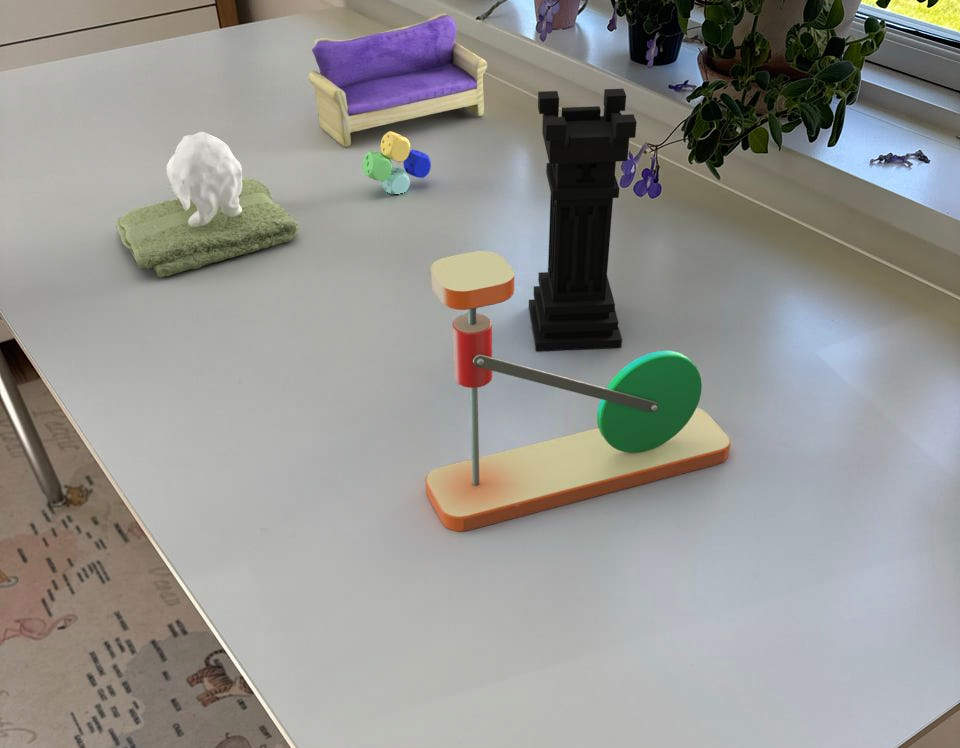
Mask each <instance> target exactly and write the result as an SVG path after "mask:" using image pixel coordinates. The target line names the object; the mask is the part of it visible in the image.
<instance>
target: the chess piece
mask: <svg viewBox="0 0 960 748" xmlns="http://www.w3.org/2000/svg"><path fill="white" fill-rule="evenodd" d="M603 92H604V93H603V115H601V111H602V110H601V107H600V106H597V105H596V106H595V105H594V106H571V107H569V106H568V107H567V106H566V107H561V116H559V111H560V96H559V93H558V90H549V91H548V90H547V91H546V90H544V91H537V108H538V114H539V115H542V127H541V128H542V131H541V133H542V139H543V142H544V146H545V151H546V155H547V159H548V162H546V169H545V172H546V173H545V174H546V177H547V182H548V187H549V191H550V195H549V196H550V201H549V229H548V230H549V231H548V259H547V260H548V261H547V271H545V272H544V271H543V272H542V271H541V272H538V279H537V281H538V285H534V286H533V293H532V294H533V299H532V298H531V299H528V311H529V317H530V323H531V324H530V325H531V329H532V337H533V344H534V349H535V352H547V351H549V352H550V351H571V350H572V351H573V350H596V349H614V348H615V349H619V348H621V349H622V345H623V344H622V343H623V338H622V335H621V331H620V327H619V322H620V321H619V319H618V314H617V311H616V303H615V299H614V296H613V292H612V288H611V285H610V281H609V278H608V277H609V276H608V267H609V256H610V255H609V254H610V253H609V252H610V244H611V243H610V241H611V230H612V216H613V206H614V205H613V204H614V199H619V197H620V185H619V183H618V180H617V177H616V165H617V162H628V159H629V146H630V139H635V138H636V134H637V133H636V132H637V123H638V122H637V119H636V117H635V114H633V113H632V114H631V113H630V114H622V112H625V111H626V103H627V94H626V92H625V88H604V90H603Z"/></svg>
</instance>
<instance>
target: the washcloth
mask: <svg viewBox="0 0 960 748" xmlns="http://www.w3.org/2000/svg"><path fill="white" fill-rule="evenodd" d="M238 198H239V205H240V206H241V208H242V212H241V213H240V214H239V215H237V216H234V217H229V216H227V215H225V214H224V213H223V212H222V211H221V207H219V208H218V209H217V213H216V215H215V216H214V217H213V218H212V219H211V221H210V222H209V223H208V224H206V225H203V226H198V227H192V226H190V225H189V223H188V221H189V218H190V217H191V216H192V215H193V214H194V213H195V212H197V211H198V210H197V207H196V205H195V204H194V203H193V202H192V201H191V199H190V207H189V209H188V210H187V211H185V210H184V208H183V205H182V203H181V202H180V199H179V198H178V199H177V197H176V198H174V199H170V200H165V201H161V202H157V203H151V204H147V205H143V206H139V207H136V208H133V209H130V210H129V211H127V212H126V213H124V214H123V215H121V216H120V217H119V218H118V219H117V220H116V221H115V222H114V224H115V227H116V228H117V230H118V233H119V237H120V240H121V243H122V244H123V245H124V246H125V247H126V248H127V249H128V250H129V251H130V252H131V254H132V256H133V258H134V260H135V262H136V265H137V266H138V269H145V268H146V269H147V270H149V269H152V268H153V269H154V271H155V273H156V275H157V277H158V278H162V277H170V276H173V275H175V274H179V273H182V272H186V271H188V270H197V269H200V268H201V267H204V266H206V265H210V264H212V263H217V262H219V263H220V262H221V261H225V260H229V259H233V258H234V257H236V258H237V257H238V256H244V255H246V254H248V253H254V252H256V251H257V252H258V251H259V250H262V249H268V248H270V247H275V246H278V245H280V244H282V243H287V242H290V241H291V240H292V238H294V237H296V235H298V231H299V228H298V227H299V226H298V225H299V224H298V222H297V221H296V219H295V218H294V217H292V216H291V215H290V214H289V213H288V212H287V211H286V210H285V209H284V208H283V207H282V206H281V205H280V204H278V203H276V202H274V199H273V197H272V196H271V192H270V191H269V188H268V187H267V186H266V185H265V184H264V183H263V182H261V181H259V179H258V180H257V179H255V178H252V177H247V178H242V191H241V193H240V195H239V196H238ZM176 199H177V200H176Z"/></svg>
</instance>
